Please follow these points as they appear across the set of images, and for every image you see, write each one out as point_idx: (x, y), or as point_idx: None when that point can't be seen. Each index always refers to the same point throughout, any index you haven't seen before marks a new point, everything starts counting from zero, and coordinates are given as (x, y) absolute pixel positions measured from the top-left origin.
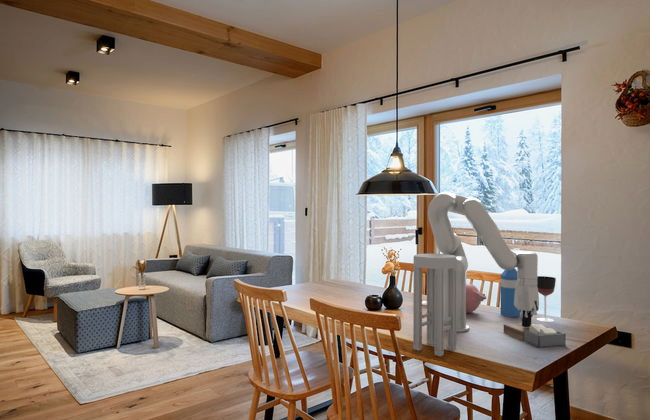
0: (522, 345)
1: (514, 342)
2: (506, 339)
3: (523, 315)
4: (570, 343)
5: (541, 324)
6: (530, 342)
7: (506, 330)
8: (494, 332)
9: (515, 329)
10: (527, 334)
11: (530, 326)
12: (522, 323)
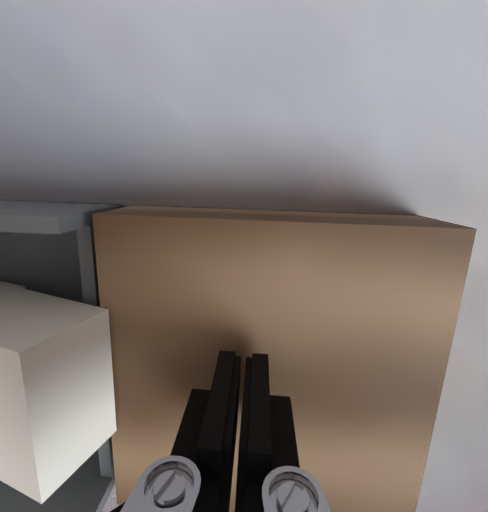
0: (8, 102)
1: (103, 90)
2: (208, 77)
3: (261, 496)
4: None
5: (28, 488)
6: (21, 202)
7: (384, 217)
8: (462, 122)
9: (228, 219)
10: (10, 209)
11: (44, 336)
12: (255, 370)
